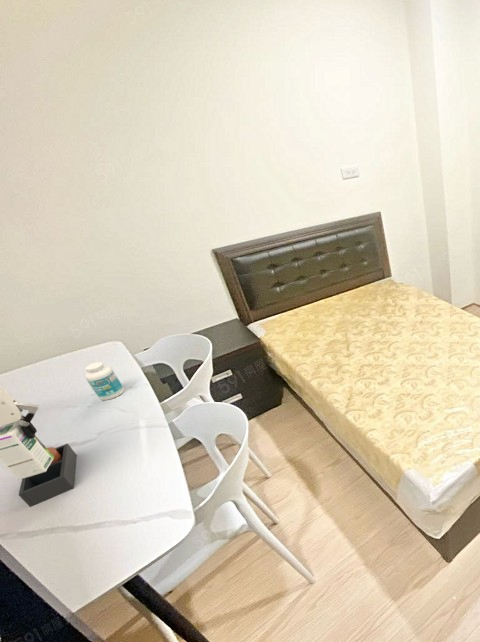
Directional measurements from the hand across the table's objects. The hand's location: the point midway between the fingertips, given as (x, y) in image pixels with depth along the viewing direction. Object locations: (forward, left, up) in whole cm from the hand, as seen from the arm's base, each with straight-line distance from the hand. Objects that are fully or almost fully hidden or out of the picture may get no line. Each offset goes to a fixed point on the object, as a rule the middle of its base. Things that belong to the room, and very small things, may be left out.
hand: (13, 442), depth 104 cm
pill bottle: (+13, +46, -19) cm, 51 cm away
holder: (0, +4, -19) cm, 19 cm away
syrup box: (0, 0, -10) cm, 10 cm away
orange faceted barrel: (0, +8, -18) cm, 20 cm away
